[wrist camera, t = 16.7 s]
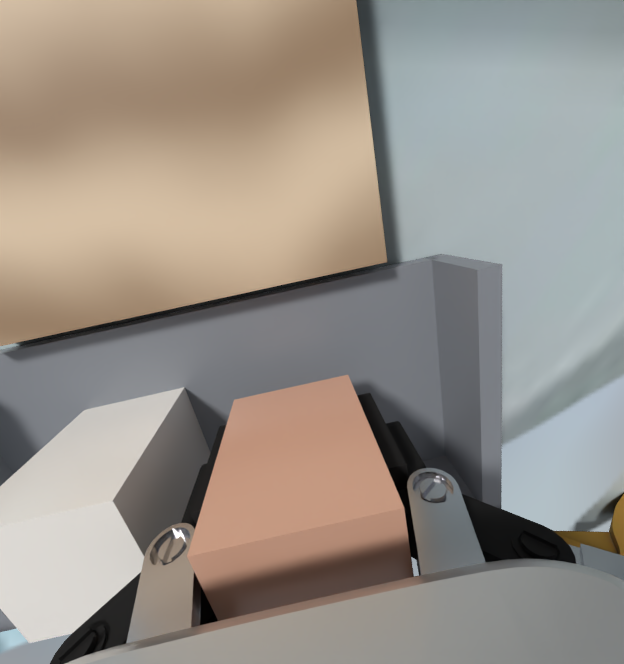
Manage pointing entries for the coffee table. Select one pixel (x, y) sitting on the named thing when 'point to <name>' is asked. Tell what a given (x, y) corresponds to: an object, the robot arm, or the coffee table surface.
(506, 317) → the coffee table surface
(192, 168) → the board
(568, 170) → the coffee table surface
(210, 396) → the box
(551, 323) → the coffee table surface
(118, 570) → the cream block
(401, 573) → the terracotta block
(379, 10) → the coffee table surface
